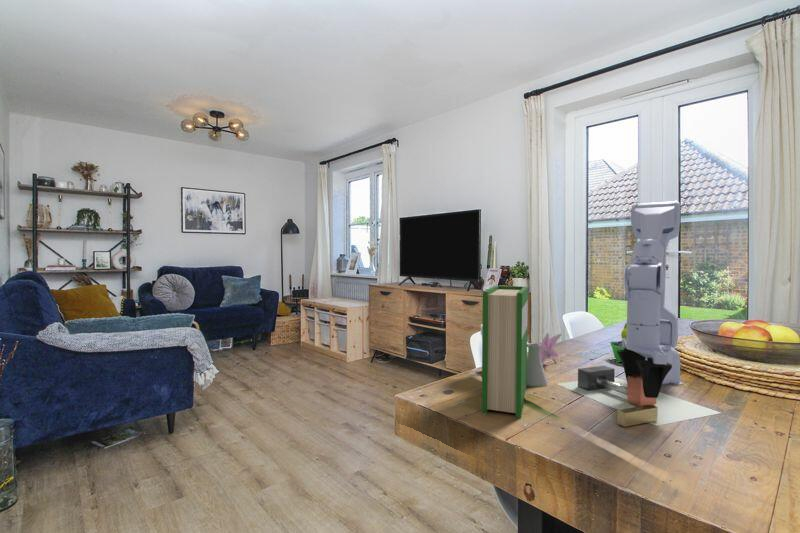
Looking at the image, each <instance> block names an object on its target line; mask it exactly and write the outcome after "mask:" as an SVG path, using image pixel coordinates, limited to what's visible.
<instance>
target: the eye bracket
mask: <svg viewBox="0 0 800 533" xmlns="http://www.w3.org/2000/svg"><path fill="white" fill-rule="evenodd" d="M615 370H616V369H615V368H612V367H610V366H606V365H599V366H598V365H597V366H592V367H591V366H589V367H581V368H578V369H577V381H578V387H579V388H582V389H584V390H587V391H591V390H598V389H605V388H606V387H603V386H601V385H598V384H597V377H599V378H602V379H605V380H608V381H611V382H614V378H615V377H616V376H615V374H616V373H615Z"/></svg>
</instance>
